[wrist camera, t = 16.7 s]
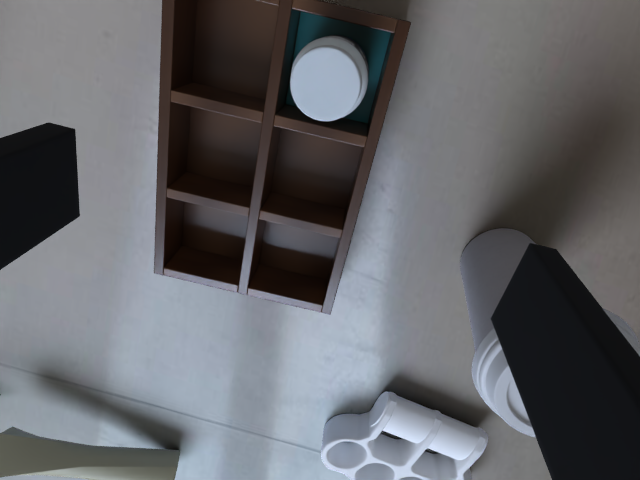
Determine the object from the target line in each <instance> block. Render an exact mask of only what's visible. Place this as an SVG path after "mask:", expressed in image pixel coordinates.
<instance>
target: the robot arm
mask: <svg viewBox="0 0 640 480" xmlns="http://www.w3.org/2000/svg"><path fill="white" fill-rule="evenodd" d="M79 216H80V213H79V194H78V174H77V155H76V136H75V129H72V128H68V127H64V126H60V125H56V124H52V123H46V124H43V125H39V126H36V127H33V128H30V129H27V130H24V131H21V132H18V133H15V134H12V135H9V136H6V137H2V138H0V270H1V269H2V268H4V267H5V266H7V265H8V264H9V263H11V262H12V261H14V260H15V259H17V258H18V257H20V256H21V255H23V254H24V253H26V252H27V251H29V250H30V249H32V248H33V247H35V246H36V245H38V244H39V243H41V242H42V241H44V240H45V239H47V238H48V237H50V236H51V235H52V234H54V233H55V232H57V231H58V230H60V229H61V228H63V227H64V226H66V225H67V224H69V223H70V222H72V221H73V220H75V219H76V218H78V217H79ZM491 321H492V324H493V326H494V329H495V332H496V334H497V337H498V339H499V342H500V345H501V347H502V350H503V352H504V355H505V358H506V360H507V363H508V365H509V368H510V371H511V373H512V376H513V379H514V381H515V384H516V386H517V389H518V392H519V394H520V397H521V399H522V402H523V405H524V407H525V410H526V412H527V415H528V418H529V420H530V423H531V426H532V428H533V431H534V433H535V436H536V439H537V441H538V444H539V446H540V449H541V452H542V454H543V457H544V459H545V462H546V465H547V467H548V470H549V472H550V475H551V478H552V480H640V356H639V355H638V353H637V352H636V351H635V350H634V348H633V347H632V346H631V344H630V343H629V342H628V341H627V339H626V338H625V337H624V335H623V334H622V333H621V332H620V330H619V329H618V328H617V327H616V325H615V324H614V323H613V321H612V320H611V319H610V318H609V316H608V315H607V314H606V312H605V311H604V310H603V309H602V307H601V306H600V305H599V303H598V302H597V301H596V300H595V298H594V297H593V296H592V294H591V293H590V292H589V291H588V289H587V288H586V287H585V285H584V284H583V283H582V282H581V280H580V279H579V278H578V277H577V275H576V274H575V273H574V271H573V270H572V269H571V268H570V266H569V265H568V264H567V262H566V261H565V260H564V259H563V257H562V256H561V255H560V253H559V252H558V251H557V250H556V249H553V248H549V247H545V246H541V245H537V244H533V243H529V245H528V247H527V249H526V251H525V253H524V255H523V257H522V259H521V261H520V263H519V265H518V267H517V268H516V270H515V272H514V274H513V276H512V278H511V280H510V282H509V284H508V286H507V288H506V290H505V292H504V294H503V296H502V297H501V299H500V301H499V303H498V305H497V307H496V309H495V311H494V313H493V315H492V317H491Z"/></svg>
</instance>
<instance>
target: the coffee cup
mask: <svg viewBox="0 0 640 480" xmlns="http://www.w3.org/2000/svg"><path fill="white" fill-rule="evenodd" d="M529 243H533V244H535V243H534V242H533V241H532V240H531V239H530V238H529V237H528V236H527V235H525V234H524V233H522V232H520V231H517V230H514V229H507V228H500V229H493V230H489V231H487V232H484V233H482V234H480V235H478V236H477V237H475V238H474V239H473V240H472V241H471V242H470V243H469V244H468V245H467V246H466V248H465V249H464V251H463V253H462V256H461V260H460V269H461V275H462V280H463V285H464V291H465V296H466V302H467V307H468V312H469V318H470V323H471V329H472V335H473V340H474V346H475V352H476V353H475V355H474V358H473V363H472V377H473V382H474V385H475V387H476V389H477V391H478V393H479V394H480V396H481V397H482V399H483V400H484V401H485V403H486V404H487V405H488V406H489V407H490V408H491V409H492V410H493V411H494V412H495V413H496V414H497V415H499V416H500V417H502V418H503V420H504V421H505V422H506V423H507V424H509V425H510V426H511V427H513V428H514V429H516V430H517V431H519V432H521V433H524V434H526V435H529V436H532V437H536V436H535V433H534V431H533V428H532V426H531V423H530V420H529V418H528V415H527V412H526V410H525V407H524V405H523V402H522V399H521V397H520V394H519V392H518V389H517V386H516V384H515V381H514V379H513V376H512V373H511V371H510V368H509V365H508V363H507V360H506V358H505V355H504V352H503V350H502V347H501V345H500V342H499V339H498V337H497V334H496V332H495V329H494V326H493V324H492V321H491V317H492V315H493V313H494V311H495V309H496V307H497V305H498V303H499V301H500V299H501V297H502V296H503V294H504V292H505V290H506V288H507V286H508V284H509V282H510V280H511V278H512V276H513V274H514V272H515V270H516V268H517V267H518V265H519V263H520V261H521V259H522V257H523V255H524V253H525V251H526V249H527V247H528V245H529ZM602 309H603V308H602ZM603 310H604V311H605V312H606V314H607V315H608V316H609V318H610V319H611V320H612V321H613V323H614V324H615V325H616V327H617V328H618V329H619V330H620V332H621V333H622V334H623V335H624V337H625V338H626V339H627V341H628V342H629V343H630V344H631V346H632V347H633V348H634V350H635V351H636V352H637V353H638V355H639V356H640V344H639V341H638V339H637V337H636V335H635V333H634V331H633V330H632V328H631V327H630V326H629V325H628V324H627V323H626V322H625V321H624V320H623V319H621V318H620V317H619V316H617V315H615V314H614V313H612V312H610V311H608V310H606V309H603Z"/></svg>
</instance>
